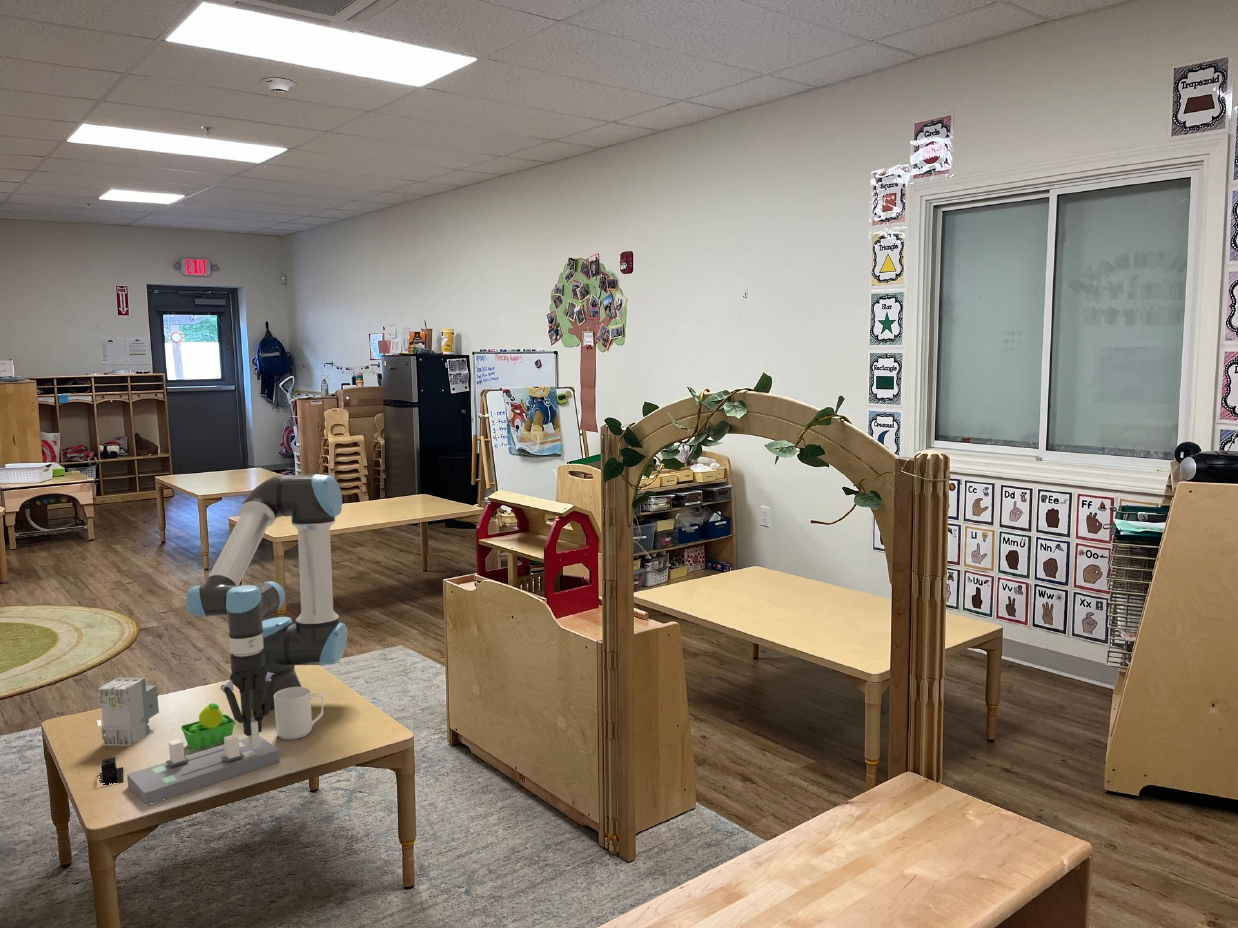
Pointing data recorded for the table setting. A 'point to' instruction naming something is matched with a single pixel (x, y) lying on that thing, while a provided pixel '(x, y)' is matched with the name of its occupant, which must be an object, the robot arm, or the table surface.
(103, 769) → the black stepped block
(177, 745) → the breaker handle
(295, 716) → the mug
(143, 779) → the gray slotted slider panel
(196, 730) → the fruit basket
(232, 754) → the block
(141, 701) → the circuit breaker
